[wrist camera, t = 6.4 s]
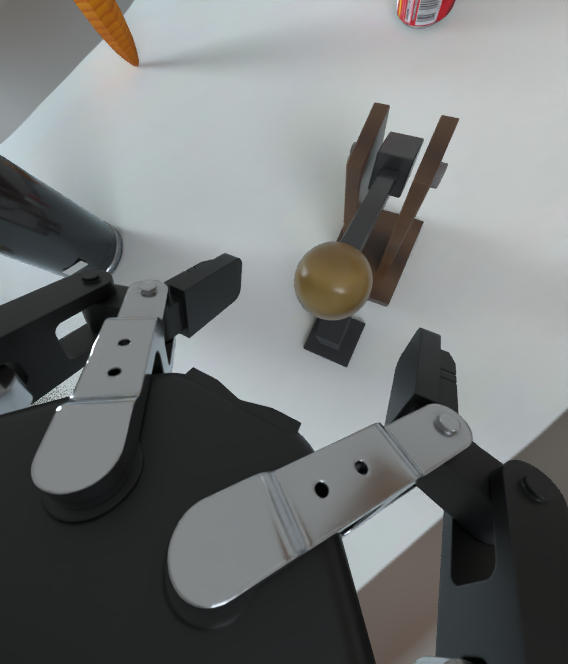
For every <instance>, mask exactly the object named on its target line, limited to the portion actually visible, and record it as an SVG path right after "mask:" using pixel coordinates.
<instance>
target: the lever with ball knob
mask: <svg viewBox="0 0 568 664" xmlns="http://www.w3.org/2000/svg"><path fill="white" fill-rule="evenodd" d="M423 141H424V139H423V138H418V137H414V136H409V135H404V134H400V133H395V132H390V133H389V134H388V136H387V138H386V139H385V141H384V142H383V144H382V146H381V147H380V149H379V151H378V152H377V156H376V159H375V163H374V167H373V170H372V174H371V178H370V182H369V185H368V190H369V191H368V193H367V195H366V197H365V198H364V200H363V202H362V204H361V206H360V207H359V209H358V211H357V213H356V214H355V216H354V218H353V220H352V221H351V223H350V225H349V227H348V228H347V230H346V232H345V234H344V235H343V237H342V239H341V241H340V242H326V243H323V244H320V245H318V246H316V247H314V248H312V249H311V250H310V251H308V252H307V253H306V254H305V255H304V256H303V258H302V259H301V260H300V262H299V264H298V266H297V269H296V272H295V277H294V288H295V293H296V296H297V298H298V300H299V302H300V304H301V305H302V307H303V308H304V309H305V310H306V311H307V312H309V313H310V314H311V315H313V316H315V317H317V318H320V319H324V320H341V319H344V318H347V317H349V316H351V315H353V314H354V313H356V312H357V311H359V310H360V309H361V308H362V307H363V305H364V304H365V303H366V301H367V299H368V298H369V296H370V293H371V289H372V283H373V276H372V270H371V267H370V264H369V262H368V260H367V259H366V257H365V256H364V255H363V254H362V253H361V252H362V250H363V248H364V246H365V244H366V242H367V240H368V238H369V236H370V234H371V232H372V230H373V228H374V226H375V224H376V222H377V220H378V218H379V216H380V214H381V212H382V210H383V208H384V206H385V204H386V202H387V200H388V198H389V196H394V197H398V198H399V197H400V196H401V194H402V192H403V189H404V187H405V185H406V183H407V181H408V179H409V177H410V174H411V172H412V169H413V167H414V164H415V162H416V159H417V156H418V154H419V151H420V149H421V146H422V144H423Z"/></svg>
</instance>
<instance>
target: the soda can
mask: <svg viewBox="0 0 568 664" xmlns="http://www.w3.org/2000/svg"><path fill="white" fill-rule="evenodd" d="M454 3H455V0H397V14H398V16H399V18H400V19H401V20H402V21H403V22H404V23H406V24H407V25H408V26H410V27H413V28H425V27H428V26H431V25H433V24H434V23H436V22H438V21H440V20H441V19H443V18H444V17H445V16H446V15H447V14H448V13H449V12H450V11H451V9H452V7H453V5H454Z"/></svg>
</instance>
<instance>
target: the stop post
mask: <svg viewBox="0 0 568 664" xmlns="http://www.w3.org/2000/svg"><path fill="white" fill-rule="evenodd" d="M351 316H352V315H351ZM351 316H349V317H347V318H344V319H341V320H324V319H320V318H317V319H316V321H315V323H314V325H313V328H312V330H311V332H310V334H309V337H308V339H307V341H306V344H305V346H304V349H306V350H308V351H311V352H313V353H315V354H317V355H320V356H322V357H324V358H327V359H329V360H331V361H333V362H336V363H338V364H340V365H343V366H345V367H347V366H348V363H349V361H350V359H351V356H352V354H353V352H354V349H355V347H356V345H357V342H358V340H359V338H360V335H361V333H362V331H363V328H364V326H365V324H364V323H362V322H359V321H357V320H354V319H352V318H351Z"/></svg>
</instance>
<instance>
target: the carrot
mask: <svg viewBox="0 0 568 664" xmlns="http://www.w3.org/2000/svg"><path fill="white" fill-rule="evenodd" d="M73 1H74V2H75V3H76V5H77V6H78V7H79V9H80V10H81V11H82V13H83V14H84V15H85V17H86V18H87V19H88V21H89V22H90V23H91V25H92V26H93V27H94V29H95V30H96V31H97V32H98V33H99V34H100V35H101V37H102V38H103V39H104V40H105V41H106V42H107V43H108V45H109V46H110V47H111V48H112V49H113V50H114V51H115V52H116V53H117V54H118V55H120V56H121V57H122V58H123V59H124V60H126V61H127V62H129V63H130V64H132V65H133V66H137V67H138V65H139V59H138V55H137V50H136V47H135V43H134V40H133V37H132V35H131V32H130V30H129V28H128V25H127V23H126V21H125V19H124V17H123V15H122V12H121V11H120V8H119V7H118V5H117V3H116V1H115V0H73Z"/></svg>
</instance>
